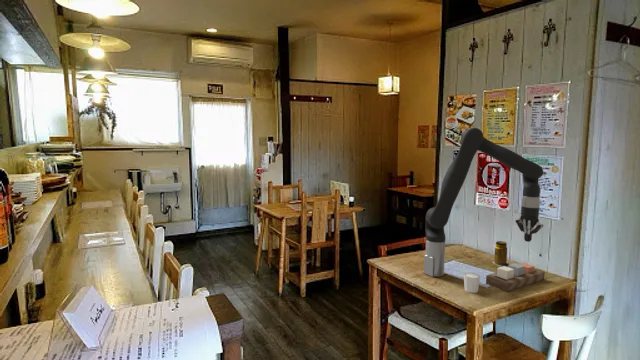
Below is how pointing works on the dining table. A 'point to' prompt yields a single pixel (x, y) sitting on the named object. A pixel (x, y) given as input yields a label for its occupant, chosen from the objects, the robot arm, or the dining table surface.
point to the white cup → (471, 282)
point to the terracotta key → (528, 268)
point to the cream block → (505, 272)
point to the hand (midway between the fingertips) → (527, 241)
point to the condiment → (500, 254)
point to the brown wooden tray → (514, 280)
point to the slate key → (517, 269)
